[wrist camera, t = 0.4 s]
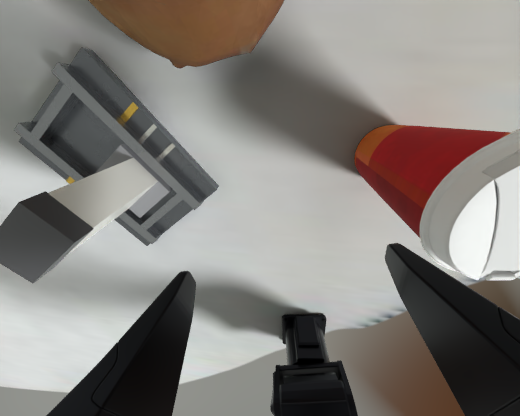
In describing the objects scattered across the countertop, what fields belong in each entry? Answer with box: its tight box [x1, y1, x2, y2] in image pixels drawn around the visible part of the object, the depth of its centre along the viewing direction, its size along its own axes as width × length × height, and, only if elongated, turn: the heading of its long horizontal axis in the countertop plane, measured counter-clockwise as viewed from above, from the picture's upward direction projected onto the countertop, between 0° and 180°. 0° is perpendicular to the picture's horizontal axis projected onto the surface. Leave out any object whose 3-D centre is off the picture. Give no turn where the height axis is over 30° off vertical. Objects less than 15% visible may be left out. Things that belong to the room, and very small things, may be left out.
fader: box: [0, 144, 172, 283], centre depth 18 cm, size 6×5×12 cm
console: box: [14, 48, 219, 246], centre depth 22 cm, size 16×12×2 cm
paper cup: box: [354, 125, 520, 280], centre depth 15 cm, size 8×8×14 cm
